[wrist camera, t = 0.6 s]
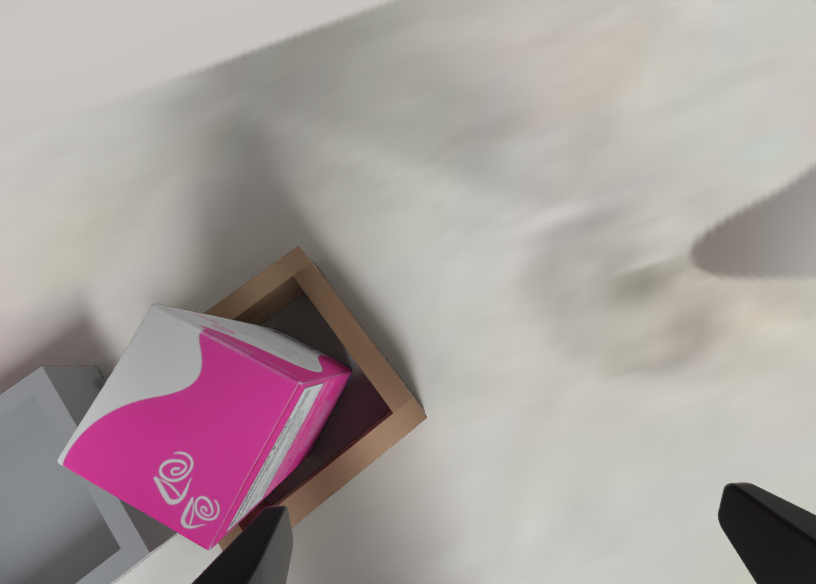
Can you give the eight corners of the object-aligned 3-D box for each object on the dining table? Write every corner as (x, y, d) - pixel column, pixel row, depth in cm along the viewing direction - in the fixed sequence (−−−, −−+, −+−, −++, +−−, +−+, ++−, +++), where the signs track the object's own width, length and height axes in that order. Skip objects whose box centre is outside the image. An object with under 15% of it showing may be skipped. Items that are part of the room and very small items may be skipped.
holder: (263, 539, 22) (236, 572, 18) (159, 374, 23) (115, 375, 20) (424, 410, 23) (427, 417, 19) (313, 262, 25) (298, 246, 21)
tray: (13, 662, 20) (-67, 721, 17) (-74, 485, 22) (-162, 506, 19) (191, 523, 22) (149, 552, 18) (95, 366, 23) (42, 365, 20)
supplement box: (223, 415, 23) (42, 461, 12) (274, 326, 24) (154, 289, 13) (308, 462, 22) (205, 559, 11) (356, 369, 23) (307, 372, 12)
